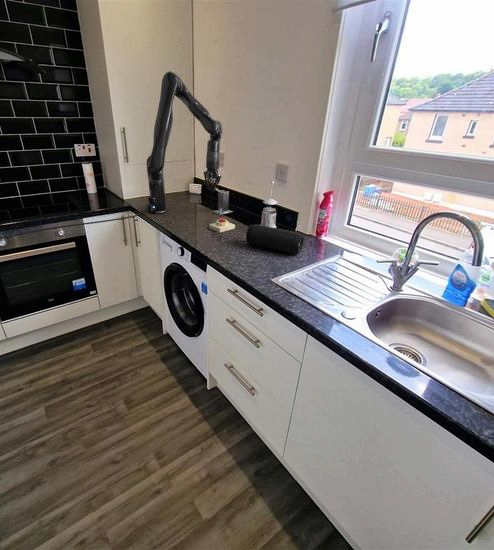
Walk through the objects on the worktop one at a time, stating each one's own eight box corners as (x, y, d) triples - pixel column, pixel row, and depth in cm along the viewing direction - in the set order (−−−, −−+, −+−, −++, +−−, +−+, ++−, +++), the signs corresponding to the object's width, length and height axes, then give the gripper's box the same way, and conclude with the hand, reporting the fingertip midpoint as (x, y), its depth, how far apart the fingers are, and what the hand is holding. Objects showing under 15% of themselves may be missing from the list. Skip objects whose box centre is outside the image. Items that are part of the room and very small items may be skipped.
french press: (277, 224, 178) (282, 180, 166) (274, 230, 168) (280, 184, 156) (260, 222, 180) (264, 178, 168) (257, 228, 170) (261, 182, 158)
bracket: (221, 216, 188) (221, 193, 182) (212, 213, 193) (213, 190, 187) (232, 213, 194) (234, 191, 188) (224, 210, 199) (225, 188, 193)
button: (221, 223, 165) (222, 220, 164) (217, 221, 167) (217, 218, 166) (226, 222, 167) (227, 219, 166) (222, 220, 169) (222, 217, 168)
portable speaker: (302, 251, 144) (305, 231, 140) (296, 258, 137) (299, 237, 132) (252, 240, 155) (254, 220, 150) (244, 246, 147) (245, 226, 142)
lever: (209, 187, 177) (211, 182, 177) (206, 186, 179) (208, 181, 179) (225, 198, 188) (227, 193, 188) (222, 196, 190) (224, 192, 190)
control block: (219, 232, 163) (219, 225, 161) (209, 228, 168) (209, 221, 167) (234, 228, 169) (235, 221, 167) (224, 224, 175) (224, 217, 173)
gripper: (200, 158, 175) (199, 188, 183) (215, 161, 166) (214, 193, 174) (210, 157, 180) (208, 187, 188) (226, 161, 171) (224, 192, 179)
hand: (211, 190), depth 181 cm, fingers closed on lever, 3 cm apart
